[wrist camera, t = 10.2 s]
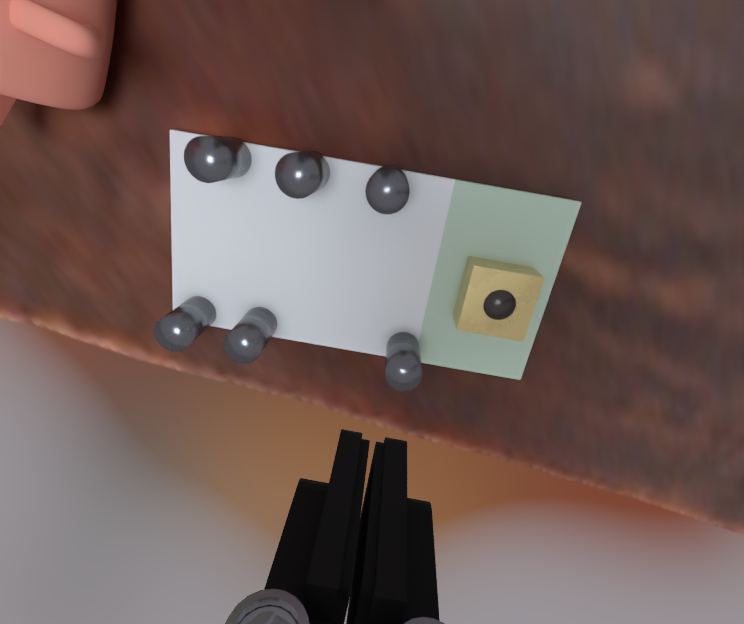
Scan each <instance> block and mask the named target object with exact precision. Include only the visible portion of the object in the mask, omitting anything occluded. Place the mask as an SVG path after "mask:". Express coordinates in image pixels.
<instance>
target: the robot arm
mask: <svg viewBox="0 0 744 624" xmlns="http://www.w3.org/2000/svg"><path fill="white" fill-rule="evenodd" d="M369 442H370V441H369V440H364V439H362V433H359V432H353V431H348V430H343V429H342V430H341V433H340V438H339V442H338V446H337V451H336V455H335V460H334V465H333V468H332V473H331V478H330V481H329V483H324V482H318V481H313V480H307V479H302V478H301V479H300V480H299V483H298V485H297V488H296V492H295V495H294V498H293V501H292V504H291V507H290V510H289V514H288V517H287V520H286V523H285V526H284V529H283V533H282V536H281V539H280V542H279V545H278V548H277V552H276V554H275V558H274V561H273V564H272V567H271V570H270V574H269V576H268V580H267V583H266V586H265V589H264V590H260V591H258V592H255V593H253V594H251V595H249V596H247V597H246V598H245V599H244V600H242V601H241V602H240V603H239V604H238V605H237V606H236V607H235V609H234V610H233V611H232V613H231V614H230V616H229V617H228V619H227V621H226V623H225V624H344V620H345V616H346V611H347V607H348V602H349V607H348V615H347V623H346V624H444V623H442V622H440V621H439V608H438V594H437V579H436V564H435V550H434V535H433V521H432V508H431V504H430V502H427V501H421V500H416V499H410V498H407V442H406V441H403V440H397V439H392V438H385V440H384V443H381V442H376V445H375V449H374V454H373V459H372V464H371V469H370V473H369V478H368V483H367V488H366V493H365V497H364V502H363V507H362V512H361V506H362V499H363V491H364V482H365V473H366V466H367V458H368V450H369ZM360 515H361V517H360ZM349 597H350V599H349Z"/></svg>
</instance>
